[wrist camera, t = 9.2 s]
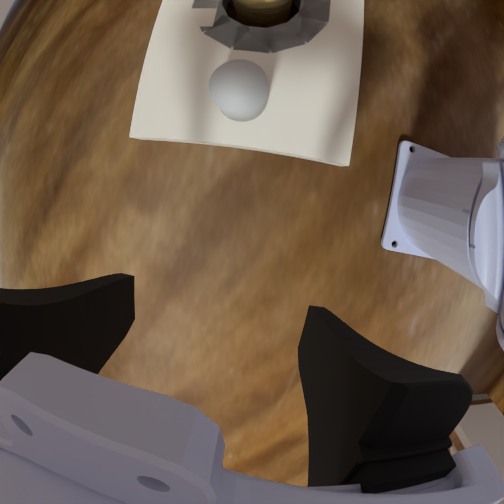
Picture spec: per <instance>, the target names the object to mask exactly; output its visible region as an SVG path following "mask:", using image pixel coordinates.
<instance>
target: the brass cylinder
mask: <svg viewBox="0 0 504 504" xmlns="http://www.w3.org/2000/svg"><path fill="white" fill-rule="evenodd" d="M233 4H234V9H235V14H236V17H237V19H238V21H239V22H240V23H241V24H243V25H244V26H252V27H261V28H269V27H273V26H276V25H280V24H284V23H286V22H287V20H288V18H289V16H290V11H291V4H292V0H233Z"/></svg>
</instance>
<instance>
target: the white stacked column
mask: <svg viewBox="0 0 504 504" xmlns="http://www.w3.org/2000/svg"><path fill="white" fill-rule="evenodd" d="M449 437H450V439H451V441H452V446H451V447H450V448H449V449H448V450H449V452H450V454H451V456H452V455H454V454H455V453H457V452H458V451H460V450H463V449H466V448H469V447H472V446H475V445H478V444H483V446H484V448H485V449H486V451H487V453H488V454H489V456H490V458H491V460H492V461H493V463H494V465H495V467H496V469H497V470H498V472H499V474H500V476H501V478H502V480H503V481H504V416H503V415H502V413H501V412H500V411H499V409H498V408H497V407H496V405H495V404H494V403H493V401H492V400H491V399H490V398H489V396H488V395H487V394H475V395H472V401H471V404H470V406H469V409H468V410H467V412H466V414H465V415H464V417H463V418H462V420H461V421H460V422H459V424H458V425H457V426H456V428H455V429H454V430H453V432H452V433H451V434H450V436H449ZM498 504H504V499H503V500H501V501H500V502H499V503H498Z"/></svg>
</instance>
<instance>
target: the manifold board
mask: <svg viewBox="0 0 504 504" xmlns="http://www.w3.org/2000/svg"><path fill="white" fill-rule="evenodd" d="M231 1H232V0H163V1H162V4H161V7H160V10H159V13H158V16H157V19H156V22H155V25H154V29H153V32H152V35H151V39H150V42H149V46H148V50H147V53H146V57H145V61H144V65H143V69H142V73H141V78H140V82H139V87H138V91H137V96H136V101H135V107H134V112H133V118H132V123H131V130H130V136H129V137H132V138H136V139H141V140H159V141H174V142H187V143H198V144H208V145H217V146H226V147H234V148H242V149H249V150H256V151H262V152H269V153H275V154H281V155H287V156H292V157H298V158H303V159H308V160H313V161H318V162H323V163H328V164H333V165H337V166H349V162H350V156H351V149H352V142H353V135H354V128H355V120H356V112H357V103H358V94H359V84H360V73H361V60H362V45H363V25H364V0H292V1H293V3H294V4H295V6H296V8H297V9H298V13H297V14H296V15H295V16H294V17H293V18H292V19H290V20H289V21H288V22H287V23H284V24H280V25H276V26H273V27H269V28H261V27H252V26H244V25H243V24H241V23H239V22H237V21H235V20H233V19H231V18H230V17H228V15H227V13H226V11H227V8H228V4H229V3H230V2H231Z"/></svg>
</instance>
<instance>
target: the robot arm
mask: <svg viewBox="0 0 504 504" xmlns="http://www.w3.org/2000/svg"><path fill="white" fill-rule="evenodd" d="M410 146H411V147H412V148H413V152H412V153H411V152H410V150H409V148H410ZM497 153H498V157H499V158H451V157H449V156H446V155H444V154H441V153H439V152H436V151H434V150H431V149H429V148H426V147H423V146H420V145H418V144H415V143H412V142H409V141H401V142H400V143H399V147H398V154H397V161H396V168H395V174H394V180H393V186H392V192H391V197H390V202H389V207H388V212H387V217H386V222H385V226H384V231H383V235H382V239H381V245H382V247H383V248H385V249H387V250H392V251H397V252H402V253H407V254H412V255H418V256H423V257H428V258H432V259H436V260H438V261H439V262H441V263H443V264H444V265H446V266H447V267H449V268H451V269H452V270H454V271H456V272H457V273H459V274H460V275H462V276H463V277H465V278H467V279H468V280H470V281H471V282H473V283H474V284H476V285H477V286H479V287H480V288H482V289H483V290H484V293H485V305H486V306H488V307H489V308H490V309H492V310H493V311H494V312H496V313H497V314H498V319H497V324H496V335H497V339H498V342H499V344H500V346H501V348H502V349H503V350H504V136H503V138H502V140H501V143H498V144H497ZM393 241H396V244H395V245H394V246H392V242H393ZM134 320H135V306H134V276H132V275H127V274H123V273H118V274H112V275H107V276H103V277H99V278H95V279H91V280H87V281H83V282H78V283H74V284H69V285H64V286H59V287H52V288H43V289H3V288H0V504H498V503H499V502H500V501H501V500H503V499H504V481H503V480H502V478H501V476H500V474H499V472H498V470H497V469H496V467H495V465H494V463H493V461H492V460H491V458H490V456H489V454H488V453H487V451H486V449H485V448H484V446H483V444H478V445H475V446H472V447H469V448H466V449H463V450H460V451H458V452H457V453H455V454H454V455H452V456H451V454H450V452H449V450H448V449H449V448H450V447H451V446H452V441H451V439H450V437H449V436H450V434H451V433H452V432H453V430H454V429H455V428H456V426H457V425H458V424H459V422H460V421H461V420H462V418H463V417H464V415H465V414H466V412H467V410H468V409H469V406H470V404H471V401H472V393H473V391H472V389H471V387H470V385H469V384H468V383H467V381H466V380H465V379H464V378H463V376H462V375H460V374H455V373H450V372H445V371H440V370H435V369H432V368H428V367H425V366H422V365H418V364H416V363H413V362H410V361H408V360H405V359H403V358H401V357H398V356H396V355H394V354H392V353H390V352H388V351H386V350H384V349H382V348H380V347H379V346H377V345H375V344H373V343H372V342H370V341H369V340H367V339H366V338H364V337H363V336H361V335H360V334H359V333H357V332H356V331H355V330H353V329H352V328H351V327H349V326H348V325H347V324H346V323H344V322H343V321H342V320H341V319H339V318H338V317H337V316H336V315H334V314H333V313H332V312H330V311H329V310H328V309H326V308H324V307H318V306H310V305H309V308H308V312H307V316H306V320H305V324H304V328H303V331H302V335H301V339H300V342H299V346H298V363H299V372H300V377H301V383H302V388H303V393H304V398H305V404H306V409H307V417H308V436H309V469H308V487H301V486H296V485H290V484H285V483H280V482H275V481H271V480H266V479H262V478H258V477H254V476H250V475H247V474H243V473H240V472H236V471H233V470H229V469H226V468H223V463H222V462H223V455H224V449H225V443H224V440H223V437H222V434H221V430H220V427H219V426H218V425H217V424H215V423H214V422H213V421H212V420H210V419H209V418H208V417H207V416H206V415H205V414H203V413H202V412H201V411H200V410H199V409H197V408H196V407H195V406H192V405H190V404H187V403H184V402H182V401H180V400H177V399H175V398H172V397H170V396H167V395H164V394H160V393H157V392H153V391H149V390H145V389H142V388H138V387H135V386H131V385H128V384H125V383H122V382H118V381H115V380H112V379H109V378H106V377H103V376H100V375H98V373H99V372H100V370H101V369H102V367H103V366H104V365H105V363H106V362H107V360H108V359H109V358H110V356H111V355H112V354H113V353H114V351H115V350H116V349H117V347H118V346H119V345H120V343H121V342H122V341H123V339H124V338H125V336H126V335H127V333H128V331H129V329H130V327H131V325H132V323H133V322H134Z"/></svg>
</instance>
